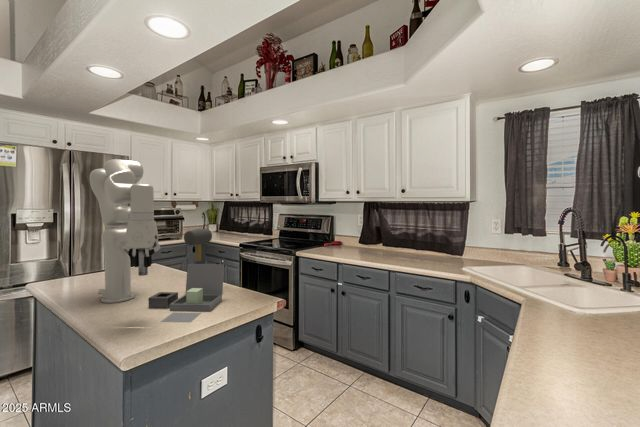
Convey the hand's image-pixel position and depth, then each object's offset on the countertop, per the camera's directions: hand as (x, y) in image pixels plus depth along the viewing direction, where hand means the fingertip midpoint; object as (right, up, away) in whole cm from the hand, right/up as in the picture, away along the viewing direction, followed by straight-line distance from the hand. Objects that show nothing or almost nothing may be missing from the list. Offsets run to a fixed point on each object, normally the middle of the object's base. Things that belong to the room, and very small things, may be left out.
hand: (143, 266), depth 114 cm
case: (+15, -19, +12) cm, 27 cm away
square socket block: (+1, -19, +12) cm, 22 cm away
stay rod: (0, -3, 0) cm, 3 cm away
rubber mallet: (+7, -18, +34) cm, 39 cm away
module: (+15, -18, +10) cm, 26 cm away
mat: (+15, -19, -1) cm, 24 cm away
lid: (+16, -9, +19) cm, 26 cm away
